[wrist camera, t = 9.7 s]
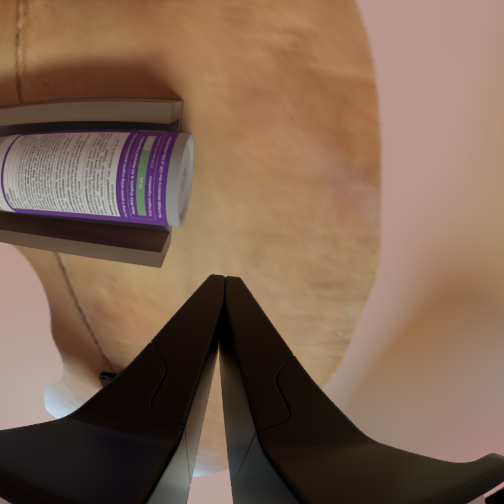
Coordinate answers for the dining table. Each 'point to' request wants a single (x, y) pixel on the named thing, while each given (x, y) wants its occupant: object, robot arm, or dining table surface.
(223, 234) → the dining table surface
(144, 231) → the cradle
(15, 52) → the dining table surface
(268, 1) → the dining table surface
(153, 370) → the robot arm
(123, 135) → the container
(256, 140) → the dining table surface
